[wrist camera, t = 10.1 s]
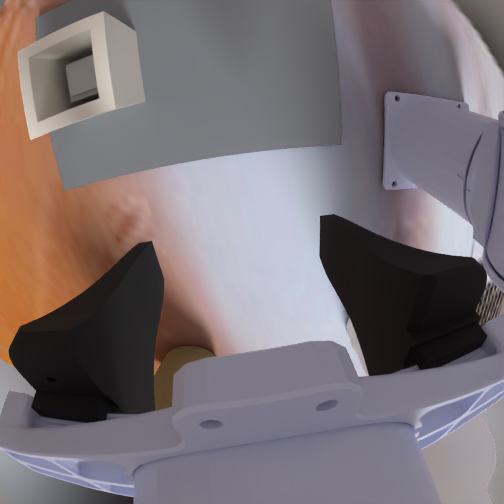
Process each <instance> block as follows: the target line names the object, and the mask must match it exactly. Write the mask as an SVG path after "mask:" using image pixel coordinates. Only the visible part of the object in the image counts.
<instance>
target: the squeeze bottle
mask: <svg viewBox="0 0 504 504" xmlns="http://www.w3.org/2000/svg"><path fill="white" fill-rule="evenodd" d="M207 357H215V355H214V354H213V353H212V352H210V351H208V350H206V349H205V348H201V347H197V346H181V347H177V348H173V349H172V350H171V351H169V352H168V353H167V354H166V356H165V357H164V359H163V361H162V363H161V365H160V366H159V368H158V370H157V372H156V374H155V375H154V397H155V411H156V410H160V409H164V408H169V407H172V395H173V378H174V374H175V373H176V372H177V371H178V370H179V369H181V368H182V367H183V366H184V365H185V364H187V363H190V362H193V361H197V360H200V359H204V358H207Z"/></svg>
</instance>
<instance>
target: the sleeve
mask: <svg viewBox="0 0 504 504" xmlns="http://www.w3.org/2000/svg"><path fill="white" fill-rule="evenodd" d="M17 54H18V66H19V76H20V84H21V92H22V98H23V105H24V110H25V116H26V121H27V126H28V131H29V135H30V140H32V139H34V138H37V137H39V136H42V135H44V134H46V133H49V132H52V131H54V130H57V129H59V128H62V127H65V126H68V125H70V124H73V123H76V122H79V121H82V120H85V119H88V118H91V117H94V116H97V115H100V114H103V113H106V112H109V111H113V110H116V109H120V108H123V107H127V106H130V105H134V104H138V103H142V102H146V100H145V94H144V88H143V81H142V74H141V67H140V60H139V52H138V44H137V35H136V31H135V30H133V29H131V28H130V27H128V26H127V25H125V24H124V23H122V22H120V21H119V20H117V19H116V18H114V17H112V16H111V15H109V14H107V13H106V12H104V11H103V12H100V13H97V14H95V15H92V16H89V17H87V18H84V19H82V20H80V21H77V22H75V23H73V24H70V25H68V26H66V27H64V28H62V29H59V30H57V31H55V32H53V33H51V34H49V35H47V36H45V37H43V38H42V39H40V40H38V41H36V42H34V43H32V44H31V45H29V46H27V47H25V48H24V49H22V50H20V51H19V52H17ZM90 55H93V59H94V67H95V74H96V81H97V88H98V94H99V99H96V100H94V101H91V102H88V103H85V104H84V103H83V101H78V102H72V103H71V100H70V94H69V87H68V81H67V73H66V65H68V64H70V63H72V62H75V61H77V60H80V59H82V58H85V57H87V56H90Z"/></svg>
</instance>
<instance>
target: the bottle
mask: <svg viewBox="0 0 504 504" xmlns="http://www.w3.org/2000/svg"><path fill="white" fill-rule="evenodd" d="M346 328H347V334H348V336H349V338H350V342H351V345H352V347H353V349H354V351H355V353H356V354H357V356H358V358H359V360H360V362H361V365H362V367H363V369H364V371H365V374H366V376H369V374H368V371H367V367H366V364H365V360H364V357H363V353H362V350H361V347H360V344H359V341H358V339H357V336H356V333H355V330H354V328H353V325H352V322H351V320H350V317H349V319H348V322H347V325H346ZM421 451H422V453H423V456H424V458H425V461H426V463H427V466H428V468H429V471H430V473H431V476H432V479H433V481H434V484H435V487H436V489H437V492H438V495H439V497H440V500H441V503H442V504H492V501H491V499H490V496H489V493H488V490H487V487H488V484H489V482H490V480H491V477H492V475H493V473H494V470H495V468H496V448H495V441H494V439H493V437H492V435H491V433H490V431H489V429H488V427H487V425H486V423H485V421H484V419H483V417H482V416H481V414H479V415H477V416H476V417H474V418H473V419H472V420H470V421H469V422H467V423H465V424H464V425H462V426H461V427H459V428H458V429H456V430H455V431H453V432H451V433H450V434H448V435H446V436H445V437H443V438H441V439H440V440H438V441H436V442H434V443H433V444H431V445H429V446H427V447H425V448H423V449H422V450H421Z"/></svg>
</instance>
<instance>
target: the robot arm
mask: <svg viewBox="0 0 504 504" xmlns="http://www.w3.org/2000/svg"><path fill="white" fill-rule="evenodd" d="M395 96H397V98H398V99H397V101H395ZM384 106H385V132H384V163H383V180H382V186H383V188H385V189H386V190H399V189H412V188H421V189H423V190H424V191H426V192H427V193H429V194H430V195H432V196H433V197H434V198H436V199H437V200H439V201H440V202H442V203H443V204H444V205H446V206H447V207H449V208H450V209H451V210H453V211H454V212H456V213H457V214H458V215H460V216H461V217H462V218H464V219H465V220H466V221H468V222H469V223H470V224H471V225H473V238H474V239H475V240H476V241H477V242H478V243H479V244H481V245H482V246H483V247H484V250H483V257H482V259H483V265H484V268H485V269H484V268H483V267H482V266H481V265H480V264H479V263H478V262H477V261H476V260H475V259H474V258H472V257H462V256H451V255H445V254H439V253H434V252H429V251H425V250H421V249H417V248H413V247H410V246H406V245H403V244H400V243H398V242H395V241H392V240H389V239H387V238H385V237H382V236H380V235H378V234H375V233H373V232H371V231H369V230H367V229H365V228H363V227H361V226H358V225H356V224H354V223H352V222H350V221H348V220H346V219H344V218H342V217H340V216H337V215H334V214H332V215H324V216H320V259H321V262H322V264H323V267H324V270H325V272H326V275H327V276H328V278H329V280H330V282H331V284H332V286H333V287H334V289H335V291H336V293H337V295H338V296H339V298H340V300H341V302H342V304H343V306H344V307H345V309H346V311H347V313H348V315H349V317H350V320H351V322H352V325H353V328H354V330H355V333H356V336H357V339H358V341H359V344H360V347H361V350H362V353H363V357H364V360H365V364H366V367H367V371H368V374H369V376H366V377H358V375H357V373H356V370H355V368H354V366H353V363H352V361H351V359H350V356H349V354H348V352H347V349H346V348H345V347H343V346H341V345H339V344H337V343H335V342H333V341H309V342H304V343H298V344H293V345H288V346H282V347H277V348H271V349H265V350H258V351H252V352H245V353H238V354H231V355H223V356H215V357H207V358H204V359H200V360H197V361H193V362H190V363H187V364H185V365H184V366H183V367H182V368H181V369H179V370H178V371H177V372H176V373H175V374H174V378H173V395H172V407H169V408H164V409H160V410H156V411H155V397H154V350H155V341H156V335H157V329H158V324H159V319H160V313H161V308H162V303H163V294H164V278H163V275H162V271H161V268H160V265H159V262H158V259H157V256H156V253H155V250H154V246H153V243H152V241H149V242H143V243H138V244H137V245H136V246H134V247H133V248H132V249H131V250H130V251H129V252H128V253H127V254H126V255H125V256H124V257H123V258H121V259H120V260H119V261H118V262H117V263H116V264H115V265H114V266H113V267H112V268H111V269H110V270H109V271H108V272H107V273H105V274H104V275H103V276H102V277H101V278H100V279H99V280H98V281H97V282H95V283H94V284H93V285H92V286H90V287H89V288H88V289H87V290H85V291H84V292H83V293H81V294H80V295H78V296H77V297H75V298H74V299H72V300H71V301H69V302H68V303H66V304H65V305H63V306H61V307H60V308H58V309H56V310H54V311H53V312H51V313H49V314H47V315H45V316H43V317H41V318H39V319H36V320H34V321H32V322H29V323H27V324H25V325H22V326H20V328H19V330H18V332H17V333H16V335H15V337H14V339H13V341H12V343H11V345H10V348H9V357H10V359H11V361H12V363H13V365H14V366H15V368H16V369H17V370H18V371H19V373H20V374H21V375H22V376H23V377H24V378H25V379H26V380H27V381H28V383H29V384H30V385H31V386H33V388H34V389H35V390H36V393H35V397H32V396H30V395H28V394H25V393H18V392H12V391H10V392H8V395H7V398H6V401H5V403H4V406H3V409H2V413H1V415H0V449H1V450H2V451H4V452H5V453H7V454H8V455H9V456H11V457H12V458H14V459H15V460H17V461H19V462H20V463H22V464H23V465H25V466H27V467H28V468H30V469H32V470H33V471H35V472H38V473H41V474H44V475H47V476H51V477H54V478H57V479H60V480H64V481H67V482H70V483H74V484H78V485H81V486H85V487H89V488H92V489H97V490H101V491H105V492H110V493H114V494H119V495H125V496H131V497H134V504H442V503H441V500H440V497H439V495H438V492H437V489H436V487H435V484H434V481H433V479H432V476H431V473H430V471H429V468H428V466H427V463H426V461H425V458H424V456H423V453H422V451H421V450H422V449H423V448H425V447H427V446H429V445H431V444H433V443H434V442H436V441H438V440H440V439H441V438H443V437H445V436H446V435H448V434H450V433H451V432H453V431H455V430H456V429H458V428H459V427H461V426H462V425H464V424H465V423H467V422H469V421H470V420H472V419H473V418H474V417H476V416H477V415H479V414H480V413H482V412H483V411H485V410H486V409H488V408H489V407H490V406H492V405H493V404H495V403H496V402H497V401H499V400H500V399H502V398H503V397H504V315H501V316H499V317H497V318H495V319H493V320H491V321H489V322H487V323H486V324H485V325H484V326H483V327H482V328H481V327H480V325H479V324H478V323H477V322H478V321H479V319H480V316H479V315H478V314H477V313H476V311H475V310H476V308H477V306H478V304H479V302H480V299H481V297H482V295H483V292H484V290H485V287H486V281H487V275H488V276H489V277H490V279H491V280H492V282H493V283H494V284H495V285H496V286H497V287H498V288H499V289H500V290H501V291H502V292H504V110H503V111H501V112H499V115H498V120H496V119H493V118H490V117H487V116H484V115H481V114H478V113H474V112H471V111H469V106H468V104H467V103H464V102H459V101H454V100H448V99H443V98H437V97H431V96H424V95H417V94H409V93H400V92H390V91H389V92H386V93H385V96H384ZM457 106H458V108H457ZM393 182H395V183H394V185H392V183H393ZM486 273H487V274H486Z"/></svg>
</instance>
